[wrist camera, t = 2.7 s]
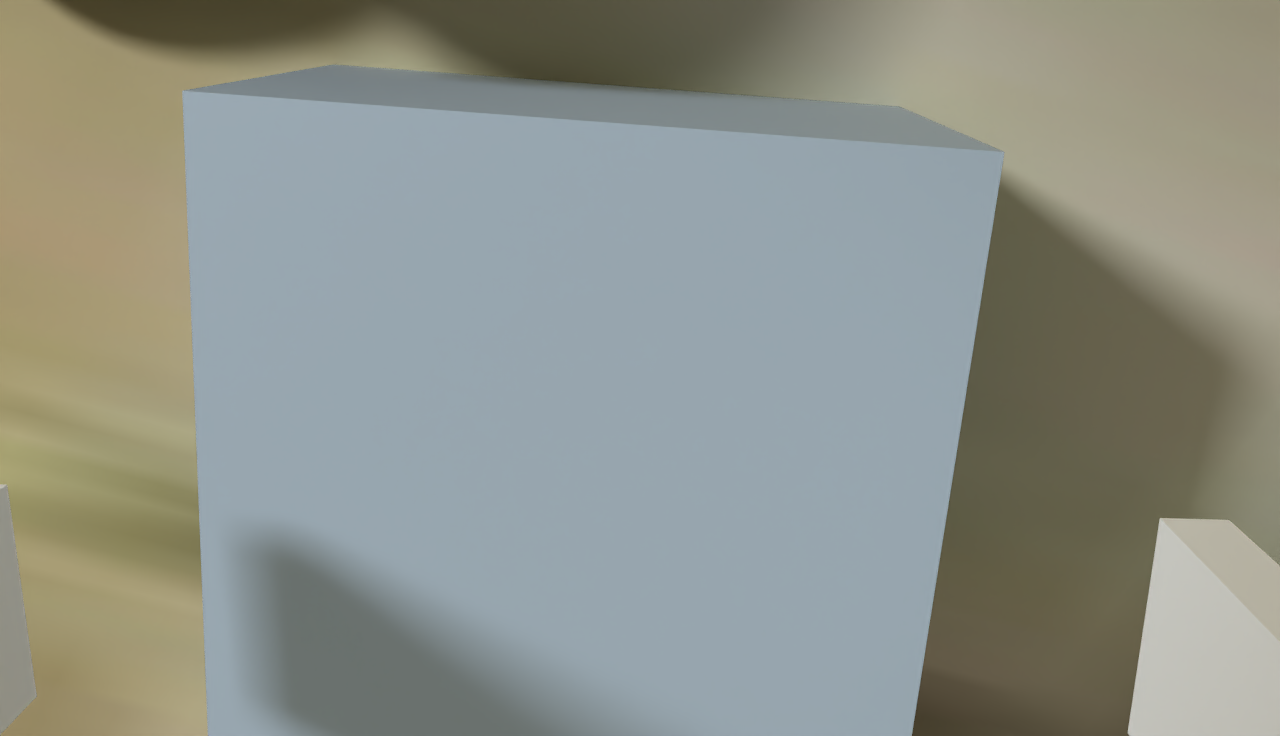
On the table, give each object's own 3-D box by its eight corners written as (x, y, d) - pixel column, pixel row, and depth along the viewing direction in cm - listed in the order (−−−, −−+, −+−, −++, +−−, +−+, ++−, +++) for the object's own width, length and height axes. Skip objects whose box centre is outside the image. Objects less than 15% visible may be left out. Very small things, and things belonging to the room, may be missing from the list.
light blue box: (335, 64, 21) (182, 91, 14) (898, 105, 21) (1004, 152, 14) (337, 573, 24) (209, 792, 17) (831, 610, 24) (894, 843, 17)
